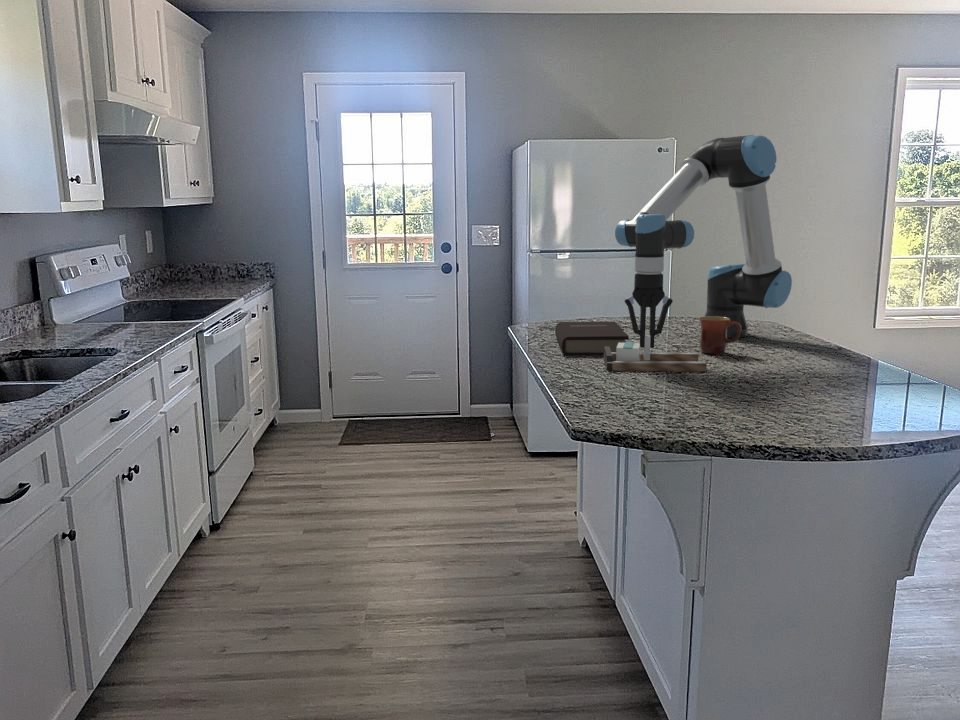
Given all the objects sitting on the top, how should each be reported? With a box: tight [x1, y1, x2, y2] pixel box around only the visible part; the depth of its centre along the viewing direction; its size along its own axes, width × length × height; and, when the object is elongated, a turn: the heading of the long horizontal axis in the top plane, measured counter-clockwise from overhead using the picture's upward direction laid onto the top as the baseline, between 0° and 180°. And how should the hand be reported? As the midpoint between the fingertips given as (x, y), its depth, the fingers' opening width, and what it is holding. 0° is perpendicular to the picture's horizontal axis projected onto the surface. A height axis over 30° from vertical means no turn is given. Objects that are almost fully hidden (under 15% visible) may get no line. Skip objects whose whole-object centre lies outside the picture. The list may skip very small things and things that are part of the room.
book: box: [554, 321, 630, 356], centre depth 244 cm, size 28×20×6 cm
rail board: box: [603, 346, 708, 372], centre depth 215 cm, size 26×13×4 cm, turn 85°
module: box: [616, 341, 641, 361], centre depth 216 cm, size 6×8×6 cm
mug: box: [698, 315, 741, 356], centre depth 230 cm, size 12×9×10 cm
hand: (646, 359), depth 215 cm, fingers closed
